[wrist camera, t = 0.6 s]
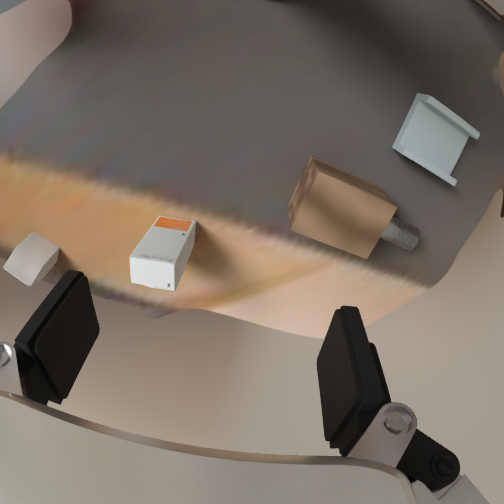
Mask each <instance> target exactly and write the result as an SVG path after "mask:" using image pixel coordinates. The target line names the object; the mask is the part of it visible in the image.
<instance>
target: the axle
mask: <svg viewBox="0 0 504 504" xmlns="http://www.w3.org/2000/svg"><path fill="white" fill-rule="evenodd" d="M419 237H420V233H419V230H418V229H417V228H416V227H414V226H412V225H410V224H408V223H406V222H404V221H402V220H400V219H397V218H395V217H393V216H392V218H391V220H390V222H389V223H388V225H387V227H386V228H385V230H384V232H383V233H382V235H381V237H380V238H381V239H383V240H385V241H388V242H390V243H392V244H394V245H397V246H399V247H401V248H403V249H406V250H408V251H410V250H412V249H414V248H415V247H416V245H417V243H418V241H419Z"/></svg>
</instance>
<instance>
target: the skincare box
mask: <svg viewBox="0 0 504 504" xmlns="http://www.w3.org/2000/svg"><path fill="white" fill-rule="evenodd" d="M195 231H196V221H193V220H186V219H178V218H172V217H166V216H158V218H157V219H156V220H155V222H154V223H153V225H152V226H151V227H150V229H149V230H148V231H147V233H146V234H145V236H144V237H143V238H142V240H141V241H140V243H139V244H138V245H137V247H136V248H135V250H134V251H133V253H132V254H131V256H130V272H131V282H132V283H134V284H139V285H144V286H147V287H151V288H159V289H165V290H170V291H176V288H177V286H178V283H179V281H180V278H181V276H182V273H183V271H184V269H185V266H186V264H187V261H188V259H189V256H190V254H191V252H192V249H193V247H194V244H195Z"/></svg>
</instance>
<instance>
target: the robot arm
mask: <svg viewBox="0 0 504 504" xmlns="http://www.w3.org/2000/svg"><path fill="white" fill-rule="evenodd" d="M98 335H99V323H98V320H97V316H96V312H95V308H94V305H93V300H92V296H91V292H90V288H89V283H88V279H87V277H86V276H84V274H83V272H80V271H74V270H68V271H67V272H66V273H65V275H64V276H63V277H62V278H61V279H60V281H59V282H58V283H57V284H56V286H55V287H54V288H53V289H52V290H51V292H50V293H49V294H48V296H47V297H46V298H45V299H44V301H43V302H42V303H41V305H40V306H39V307H38V308H37V310H36V311H35V312H34V314H33V315H32V316H31V318H30V319H29V321H28V322H27V323H26V325H25V326H24V328H23V329H22V330H21V332H20V333H19V335H18V336H17V337H16V339H15V342H16V343H15V344H14V346H13V345H12V344H10V343H8V342H0V504H489V503H488V501H487V500H486V499H485V498H484V497H483V495H482V494H481V493H480V492H479V491H478V489H477V488H476V487H475V486H474V485H473V484H472V482H471V481H470V480H469V479H468V477H467V476H466V475H463V476H461V475H460V473H459V472H460V464H459V460H458V458H457V457H456V455H455V454H453V453H452V452H451V451H449V450H448V449H446V448H445V447H443V446H442V445H440V444H439V443H437V442H435V441H434V440H433V439H431V438H430V437H428V436H427V435H425V434H424V433H422V432H421V431H419V430H418V429H416V427H417V418H416V416H415V414H414V412H413V411H412V410H411V409H410V408H409V407H408V406H406V405H404V404H402V403H397V402H393V403H392V402H391V398H390V395H389V391H388V387H387V384H386V381H385V377H384V374H383V370H382V367H381V363H380V360H379V357H378V353H377V350H376V347H375V345H374V344H373V343H369V341H368V338H367V334H366V332H365V328H364V325H363V322H362V319H361V315H360V312H359V309H358V308H357V307H353V306H341V308H340V309H336V310H335V313H334V315H333V318H332V321H331V324H330V326H329V329H328V332H327V334H326V337H325V340H324V342H323V345H322V347H321V350H320V353H319V355H318V358H317V372H318V380H319V389H320V397H321V405H322V406H321V407H322V416H323V426H324V435H325V440H326V441H330V448H339V452H340V454H341V455H342V456H298V455H276V454H258V453H246V452H236V451H227V450H218V449H211V448H204V447H197V446H191V445H185V444H180V443H174V442H169V441H164V440H159V439H154V438H150V437H146V436H142V435H137V434H133V433H129V432H125V431H122V430H118V429H114V428H111V427H107V426H104V425H101V424H97V423H94V422H91V421H88V420H85V419H82V418H79V417H76V416H73V415H70V414H67V413H65V412H62V411H59V410H56V409H54V408H51V407H48V406H47V403H48V401H49V400H50V401H52V402H54V403H57V404H61V403H62V400H63V399H66V398H67V396H68V394H69V392H70V390H71V388H72V386H73V384H74V382H75V380H76V378H77V375H78V374H79V372H80V370H81V368H82V366H83V364H84V362H85V360H86V358H87V356H88V354H89V352H90V350H91V348H92V346H93V344H94V342H95V340H96V339H97V337H98Z"/></svg>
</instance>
